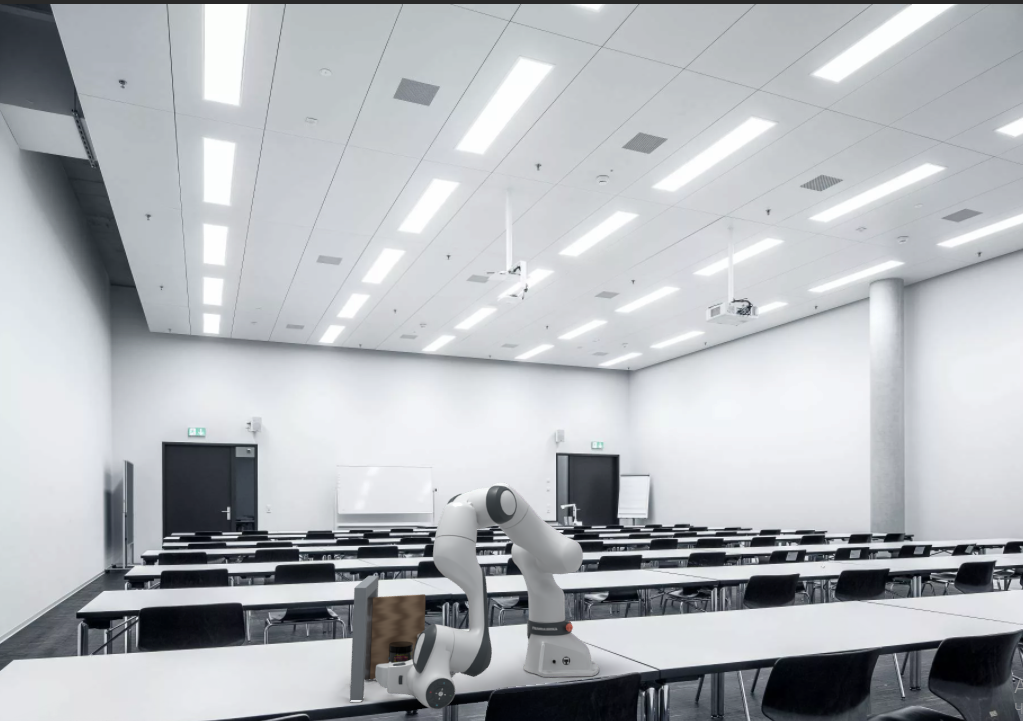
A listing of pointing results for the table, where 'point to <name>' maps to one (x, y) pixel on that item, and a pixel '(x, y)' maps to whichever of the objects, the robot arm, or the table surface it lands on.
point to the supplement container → (400, 651)
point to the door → (391, 626)
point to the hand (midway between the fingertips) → (408, 663)
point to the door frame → (360, 634)
